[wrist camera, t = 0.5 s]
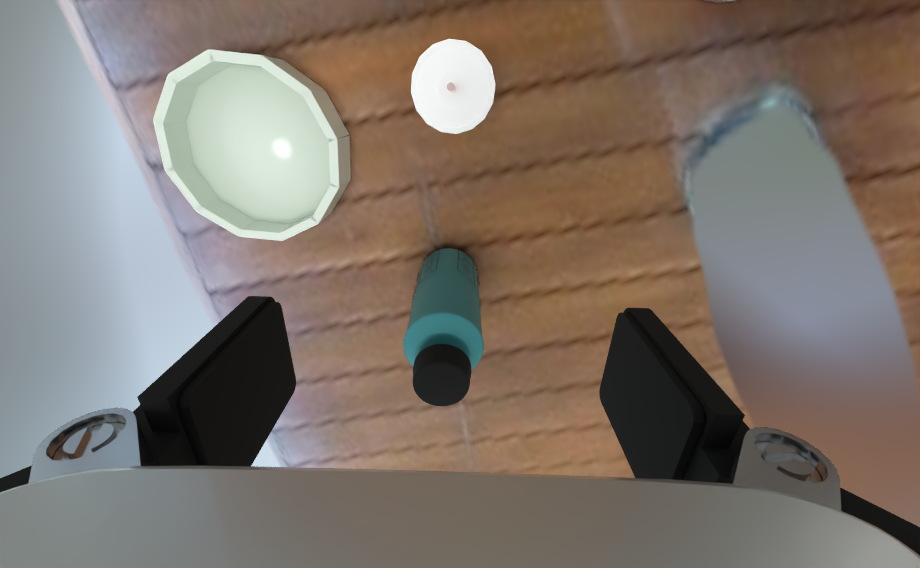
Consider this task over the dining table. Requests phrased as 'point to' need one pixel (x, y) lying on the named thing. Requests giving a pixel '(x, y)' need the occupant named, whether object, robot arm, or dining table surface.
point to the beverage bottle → (444, 328)
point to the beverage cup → (453, 86)
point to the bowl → (252, 144)
